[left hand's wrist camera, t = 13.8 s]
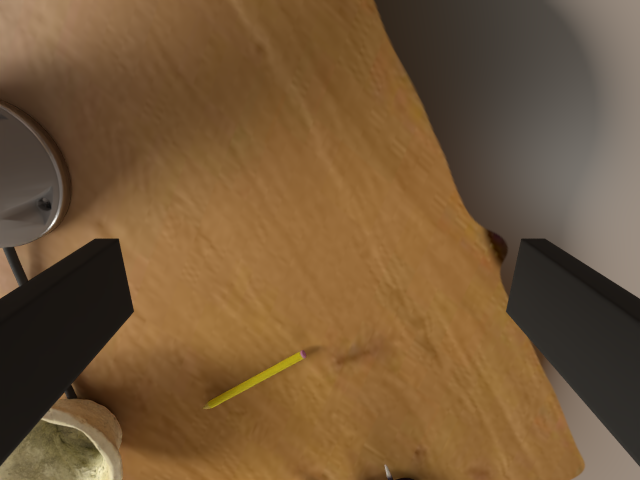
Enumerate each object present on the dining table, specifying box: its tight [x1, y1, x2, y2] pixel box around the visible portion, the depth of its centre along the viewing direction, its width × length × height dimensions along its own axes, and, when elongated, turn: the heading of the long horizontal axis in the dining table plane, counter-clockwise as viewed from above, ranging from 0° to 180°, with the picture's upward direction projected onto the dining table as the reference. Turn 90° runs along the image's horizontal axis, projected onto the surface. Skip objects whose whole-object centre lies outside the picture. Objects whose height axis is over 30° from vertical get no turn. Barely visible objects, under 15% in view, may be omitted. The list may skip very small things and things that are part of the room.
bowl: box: [0, 399, 123, 480], centre depth 45 cm, size 14×18×15 cm
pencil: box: [202, 350, 306, 409], centre depth 48 cm, size 16×1×1 cm, turn 123°
